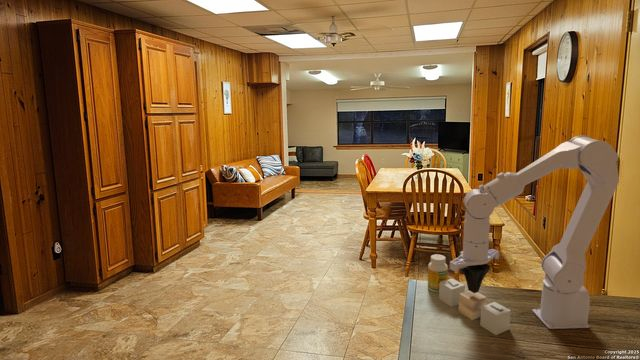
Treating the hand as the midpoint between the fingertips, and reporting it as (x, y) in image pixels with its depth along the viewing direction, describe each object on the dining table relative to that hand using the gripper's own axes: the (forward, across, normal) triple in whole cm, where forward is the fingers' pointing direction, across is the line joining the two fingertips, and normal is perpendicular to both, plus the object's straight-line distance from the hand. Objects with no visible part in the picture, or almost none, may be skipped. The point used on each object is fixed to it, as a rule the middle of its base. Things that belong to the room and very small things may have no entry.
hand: (473, 290), depth 101 cm
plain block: (+6, 0, 0) cm, 6 cm away
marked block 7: (+6, 0, -7) cm, 9 cm away
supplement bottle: (+6, -1, -14) cm, 15 cm away
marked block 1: (+6, 0, +7) cm, 9 cm away
